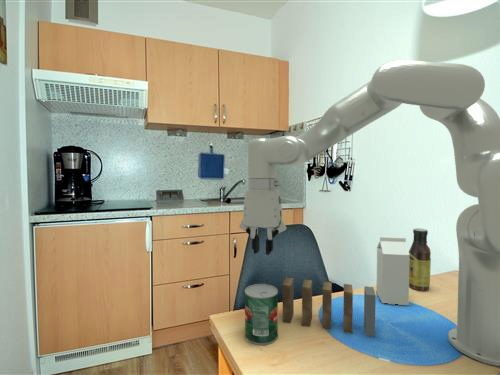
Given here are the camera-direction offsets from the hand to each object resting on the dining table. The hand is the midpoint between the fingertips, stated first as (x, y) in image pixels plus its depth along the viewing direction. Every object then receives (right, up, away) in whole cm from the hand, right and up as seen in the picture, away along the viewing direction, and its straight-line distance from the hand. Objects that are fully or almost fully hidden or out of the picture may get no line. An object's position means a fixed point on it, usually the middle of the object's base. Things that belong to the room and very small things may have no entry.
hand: (262, 252), depth 75 cm
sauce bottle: (+53, -16, +17) cm, 58 cm away
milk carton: (+40, -17, +9) cm, 44 cm away
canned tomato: (-1, -18, -9) cm, 20 cm away
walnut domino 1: (+7, -17, -1) cm, 19 cm away
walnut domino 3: (+16, -17, -4) cm, 24 cm away
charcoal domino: (+26, -17, -8) cm, 32 cm away
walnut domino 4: (+21, -17, -6) cm, 28 cm away
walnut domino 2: (+12, -17, -3) cm, 21 cm away
